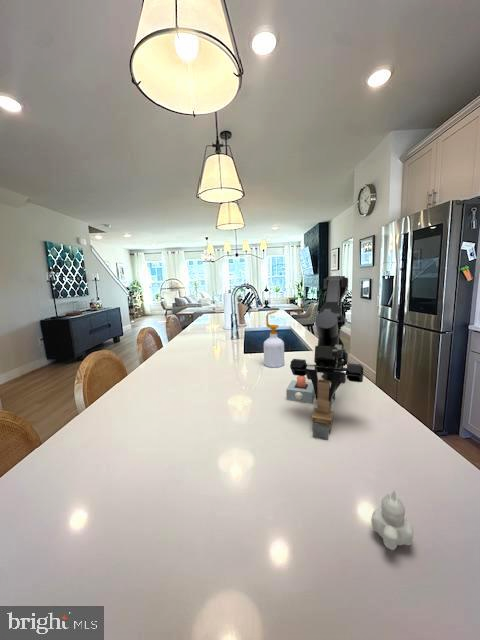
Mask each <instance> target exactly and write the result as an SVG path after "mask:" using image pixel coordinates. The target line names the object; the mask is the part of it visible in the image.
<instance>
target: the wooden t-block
mask: <svg viewBox="0 0 480 640" xmlns="http://www.w3.org/2000/svg"><path fill="white" fill-rule="evenodd" d="M330 387H331V382H330V381H329V380H326V379H319V378H318V399H317V400H316V402H317V407H314V409H313V411H312V412H313V413H312V416H311V422H312V424H313V423H317V422H318V423H324V424H328V425H329V431H330V430H332V426H333V419H334V410H332V409H331V410H330V402H329V392H330Z"/></svg>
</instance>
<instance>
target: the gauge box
mask: <svg viewBox="0 0 480 640" xmlns="http://www.w3.org/2000/svg"><path fill="white" fill-rule="evenodd" d="M285 391H286V393H285V394H286V400H289V401H294V402H299V403H300V402H301V403H307V404H312V403H313V401H314V398H315V392H314V387H313V384H312V381H306V389H300V388H297V380H296V379H295V380H293V379H291V381H290V383H289V384H288V386H287V387H286V390H285Z"/></svg>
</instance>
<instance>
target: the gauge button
mask: <svg viewBox="0 0 480 640" xmlns="http://www.w3.org/2000/svg"><path fill="white" fill-rule="evenodd" d="M296 376H297V375H296ZM306 379H307V376H297V377H296V381H297V388H300V389H306V382H307V381H306Z"/></svg>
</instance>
